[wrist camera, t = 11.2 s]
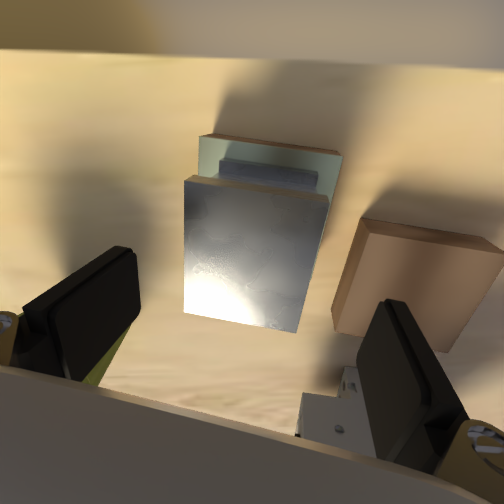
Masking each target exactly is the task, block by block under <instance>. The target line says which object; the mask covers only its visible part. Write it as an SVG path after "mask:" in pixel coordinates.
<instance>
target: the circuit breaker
mask: <svg viewBox="0 0 504 504" xmlns="http://www.w3.org/2000/svg"><path fill="white" fill-rule="evenodd" d="M295 437H299V438H303V439H307V440H311V441H314V442H318V443H322V444H326V445H330V446H334V447H338V448H341V449H345V450H348V451H352V452H356V453H359V454H363V455H366V456H370V457H374V458H377V457H376V452H375V448H374V443H373V439H372V434H371V429H370V425H369V420H368V415H367V411H366V406H365V401H364V397H363V392H362V387H361V383H360V378H359V373H358V369H357V368H355V367H348V366H345V368H344V372H343V376H342V379H341V383H340V387H339V390H338V394H337V397H331V396H324V395H317V394H311V393H302V399H301V404H300V410H299V419H298V421H297V426H296V432H295Z"/></svg>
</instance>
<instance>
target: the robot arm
mask: <svg viewBox="0 0 504 504" xmlns="http://www.w3.org/2000/svg"><path fill="white" fill-rule="evenodd" d="M22 309H23V311H24V314H23V315H21V316H20V317H18V316H17V315H16V314H15V313H12V312H9V311H0V504H504V432H503V431H501V430H500V429H498V428H496V427H494V426H493V425H491V424H488V423H486V422H483V421H480V420H474V419H470V418H469V416H468V415H467V413H466V411H465V409H464V407H463V405H462V403H461V401H460V399H459V398H458V396H457V394H456V392H455V390H454V389H453V387H452V385H451V383H450V381H449V380H448V378H447V376H446V374H445V372H444V371H443V369H442V367H441V365H440V363H439V362H438V360H437V358H436V356H435V355H434V353H433V351H432V349H431V347H430V346H429V344H428V342H427V340H426V338H425V337H424V335H423V333H422V331H421V329H420V328H419V326H418V324H417V322H416V320H415V319H414V317H413V315H412V313H411V311H410V310H409V308H408V306H407V304H406V303H405V302H403V301H398V300H393V299H388V298H387V299H386V300H385V301H384V302H383V301H380V302H379V304H378V306H377V308H376V311H375V313H374V315H373V318H372V320H371V323H370V325H369V327H368V330H367V332H366V335H365V337H364V339H363V342H362V344H361V347H360V349H359V351H358V354H357V359H356V363H357V369H358V373H359V378H360V383H361V387H362V392H363V397H364V401H365V406H366V411H367V415H368V420H369V425H370V429H371V434H372V439H373V443H374V448H375V452H376V457H377V458H374V457H370V456H366V455H363V454H359V453H356V452H352V451H348V450H345V449H341V448H338V447H334V446H330V445H326V444H322V443H318V442H314V441H311V440H307V439H303V438H299V437H295V436H291V435H287V434H284V433H280V432H276V431H272V430H268V429H264V428H260V427H257V426H253V425H249V424H245V423H241V422H237V421H233V420H229V419H225V418H221V417H217V416H213V415H209V414H206V413H202V412H198V411H194V410H190V409H186V408H182V407H178V406H174V405H170V404H166V403H162V402H158V401H154V400H150V399H146V398H142V397H138V396H134V395H130V394H126V393H122V392H118V391H114V390H110V389H106V388H102V387H97V386H93V385H89V384H85V383H81V382H82V381H83V380H84V379H85V377H86V376H87V375H88V374H89V373H90V372H91V370H92V369H93V368H94V367H95V366H96V365H97V363H98V362H99V361H100V360H101V359H102V357H103V356H104V355H105V354H106V353H107V352H108V350H109V349H110V348H111V347H112V346H113V345H114V343H115V342H116V341H117V340H118V339H119V338H120V336H121V335H122V334H123V333H124V332H125V330H126V329H127V328H128V327H129V326H130V325H131V323H132V322H133V321H134V320H135V319H136V318H137V316H138V315H139V313H140V310H141V302H140V291H139V279H138V267H137V256H136V254H135V253H133V251H132V249H131V248H127V247H121V246H114V247H112V248H111V249H109V250H108V251H106V252H105V253H103V254H102V255H100V256H99V257H97V258H96V259H94V260H93V261H91V262H90V263H88V264H87V265H85V266H83V267H82V268H80V269H79V270H77V271H76V272H74V273H73V274H71V275H70V276H68V277H67V278H65V279H64V280H62V281H61V282H59V283H58V284H56V285H55V286H53V287H52V288H50V289H49V290H47V291H46V292H44V293H43V294H41V295H40V296H38V297H37V298H35V299H34V300H32V301H31V302H29V303H28V304H26V305H24V306H23V307H22Z"/></svg>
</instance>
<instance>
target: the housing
mask: <svg viewBox="0 0 504 504" xmlns="http://www.w3.org/2000/svg"><path fill="white" fill-rule="evenodd" d="M318 176H319V174H318V172H317V171H313V170H306V169H299V168H292V167H286V166H279V165H272V164H265V163H258V162H251V161H245V160H238V159H231V158H222V159H220V160H219V172H218V173H216V174H215V175H214V176H212V177H204V176H198V175H193V176H191V177H189V178H188V179H186V180H184V312H187V313H192V314H197V315H202V316H208V317H213V318H218V319H223V320H228V321H234V322H239V323H244V324H249V325H255V326H260V327H265V328H270V329H275V330H281V331H286V332H291V333H296V332H297V328H298V324H299V321H300V317H301V313H302V309H303V305H304V301H305V297H306V294H307V290H308V286H309V282H310V278H311V274H312V271H313V267H314V263H315V259H316V255H317V251H318V248H319V244H320V240H321V236H322V232H323V228H324V224H325V221H326V217H327V213H328V209H329V205H330V202H329V199H328V197H327V195H322V194H318V191H317V188H316V185H317V181H318Z"/></svg>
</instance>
